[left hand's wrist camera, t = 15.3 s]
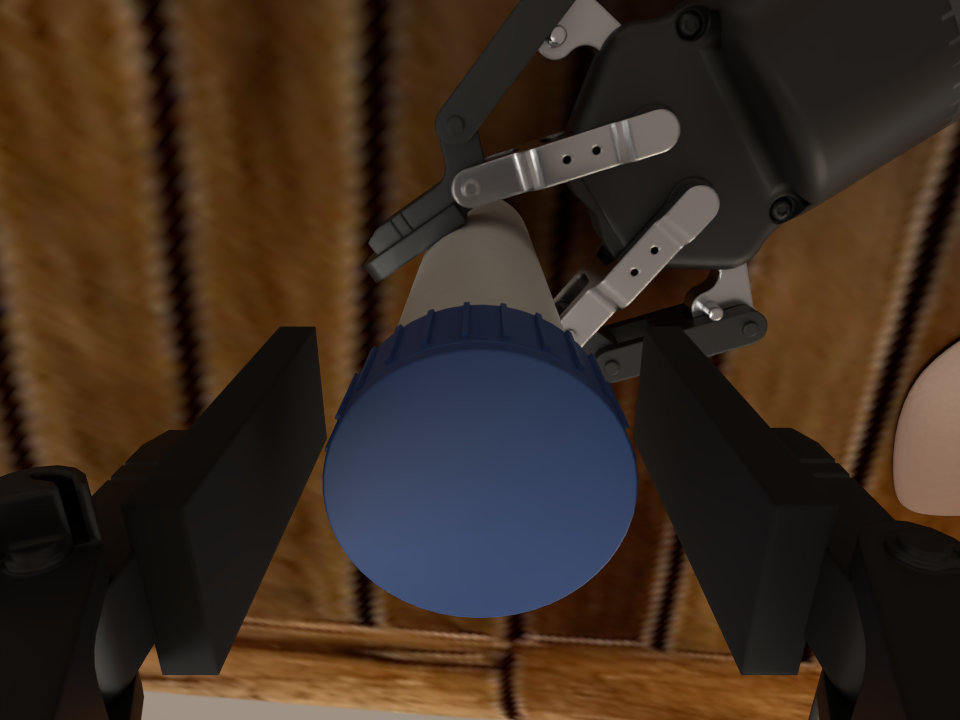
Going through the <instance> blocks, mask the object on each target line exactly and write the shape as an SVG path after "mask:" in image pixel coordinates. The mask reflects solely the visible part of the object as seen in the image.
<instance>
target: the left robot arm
mask: <svg viewBox="0 0 960 720" xmlns="http://www.w3.org/2000/svg"><path fill="white" fill-rule="evenodd" d="M326 439H327V436H326V426H325V416H324V406H323V397H322V387H321V377H320V367H319V357H318V348H317V338H316V328H315V327H279V329H278V330H277V331H276V332H275V333H274V334H273V335H272V336H271V337H270V339H269V340H268V341H267V342H266V343H265V344H264V345H263V346H262V348H261V349H260V350H259V351H258V352H257V353H256V354H255V355H254V356H253V358H252V359H251V360H250V361H249V362H248V363H247V364H246V365H245V367H244V368H243V369H242V370H241V371H240V372H239V373H238V374H237V375H236V377H235V378H234V379H233V380H232V381H231V382H230V383H229V384H228V386H227V387H226V388H225V389H224V390H223V391H222V392H221V393H220V394H219V396H218V397H217V398H216V399H215V400H214V401H213V402H212V403H211V405H210V406H209V407H208V408H207V409H206V410H205V411H204V412H203V413H202V415H201V416H200V417H199V418H198V419H197V420H196V421H195V422H194V423H193V425H192V426H191V427H190V428H189V429H188V430H168V431H166V432H165V433H163V434H161V435H159V436H158V437H156V438H154V439H152V440H150V441H149V442H147V443H145V444H143V445H142V446H141V447H140V448H139V449H138V450H137V451H136V452H135V453H134V454H133V455H132V456H131V457H130V458H129V459H128V460H127V461H126V464H125V466H121V467H120V468H119V469H118V470H117V471H116V472H115V473H114V474H113V475H112V476H111V480H107V481H106V482H105V483H104V484H103V485H102V486H101V487H100V488H99V489H98V490H97V491H96V492H95V493H94V495H93V496H92V497H91V493H90V489H89V486H88V482H87V478H86V474H84V473H83V472H81V471H80V470H78V469H77V468H74V467H67V466H60V465H56V466H43V467H34V468H30V469H25V470H21V471H17V472H13V473H9V474H7V475H4V476H2V477H0V720H141V716H142V708H143V700H144V694H143V688H142V682H141V679H140V675H139V671H138V670H139V668H140V666H141V665H142V663H143V661H144V660H145V658H146V656H147V655H148V653H149V651H150V650H151V648H152V646H153V645H154V643H155V647H156V651H157V655H158V659H159V663H160V667H161V671H162V675H219V673H220V671H221V669H222V666H223V664H224V662H225V660H226V658H227V655H228V653H229V651H230V649H231V647H232V645H233V642H234V640H235V638H236V636H237V634H238V631H239V629H240V627H241V625H242V623H243V620H244V618H245V616H246V614H247V612H248V610H249V607H250V605H251V603H252V601H253V599H254V596H255V594H256V592H257V590H258V588H259V585H260V583H261V581H262V579H263V577H264V575H265V572H266V570H267V568H268V566H269V564H270V561H271V559H272V557H273V555H274V553H275V551H276V548H277V546H278V544H279V542H280V540H281V537H282V535H283V533H284V531H285V529H286V526H287V524H288V522H289V520H290V518H291V516H292V513H293V511H294V509H295V507H296V505H297V502H298V500H299V498H300V496H301V494H302V492H303V489H304V487H305V485H306V483H307V481H308V478H309V476H310V474H311V472H312V470H313V467H314V465H315V463H316V461H317V459H318V457H319V454H320V452H321V450H322V448H323V446H324V443H325V441H326ZM633 439H634V441H635V443H636V446H637V448H638V450H639V452H640V454H641V457H642V459H643V461H644V463H645V465H646V467H647V470H648V472H649V474H650V476H651V478H652V481H653V483H654V485H655V487H656V489H657V491H658V494H659V496H660V498H661V500H662V502H663V505H664V507H665V509H666V511H667V513H668V516H669V518H670V520H671V522H672V524H673V526H674V529H675V531H676V533H677V535H678V537H679V540H680V542H681V544H682V546H683V548H684V551H685V553H686V555H687V557H688V559H689V561H690V564H691V566H692V568H693V570H694V572H695V575H696V577H697V579H698V581H699V583H700V585H701V588H702V590H703V592H704V594H705V596H706V599H707V601H708V603H709V605H710V607H711V610H712V612H713V614H714V616H715V618H716V620H717V623H718V625H719V627H720V629H721V631H722V634H723V636H724V638H725V640H726V642H727V645H728V647H729V649H730V651H731V653H732V655H733V658H734V660H735V662H736V664H737V666H738V669H739V671H740V673H741V675H798V671H799V667H800V663H801V659H802V655H803V651H804V647H805V643H806V641H807V643H808V645H809V646H810V648H811V650H812V651H813V653H814V655H815V656H816V658H817V660H818V661H819V663H820V665H821V666H822V671H821V675H820V679H819V682H818V686H817V690H816V693H815V697H814V701H813V705H812V708H811V712H810V716H809V719H808V720H960V542H959V541H958V540H956V539H955V538H953V537H950V536H948V535H946V534H944V533H942V532H939V531H937V530H935V529H933V528H930V527H926V526H922V525H919V524H915V523H911V522H907V521H896V520H894V519H893V518H892V517H891V516H890V515H889V514H888V513H887V512H886V510H885V509H884V508H883V507H882V506H881V505H880V504H879V503H878V502H877V501H876V500H875V499H874V498H873V497H872V496H871V495H870V494H869V493H868V492H867V491H866V490H865V489H864V488H863V487H862V486H861V485H860V484H859V483H858V482H857V481H856V480H855V479H854V478H850V477H849V473H848V472H847V471H846V470H845V469H844V468H843V467H842V466H841V465H840V464H839V463H835V459H834V458H833V457H832V456H831V455H830V454H829V453H828V452H827V451H826V450H825V449H824V448H823V447H822V446H821V445H820V444H819V443H818V442H816V441H814V440H812V439H810V438H809V437H807V436H805V435H803V434H801V433H800V432H798V431H796V430H794V429H792V428H770V427H769V426H768V425H767V423H766V422H765V421H764V420H763V419H762V418H761V417H760V416H759V415H758V413H757V412H756V411H755V410H754V409H753V408H752V407H751V406H750V405H749V403H748V402H747V401H746V400H745V399H744V398H743V397H742V396H741V394H740V393H739V392H738V391H737V390H736V389H735V388H734V387H733V386H732V384H731V383H730V382H729V381H728V380H727V379H726V378H725V377H724V375H723V374H722V373H721V372H720V371H719V370H718V369H717V368H716V367H715V365H714V364H713V363H712V362H711V361H710V360H709V359H708V358H707V356H706V355H705V354H704V353H703V352H702V351H701V350H700V349H699V348H698V346H697V345H696V344H695V343H694V342H693V341H692V340H691V339H690V337H689V336H688V335H687V334H686V333H685V332H684V331H683V330H682V329H681V327H645V328H644V338H643V348H642V358H641V367H640V377H639V387H638V397H637V406H636V416H635V426H634V436H633Z"/></svg>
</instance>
